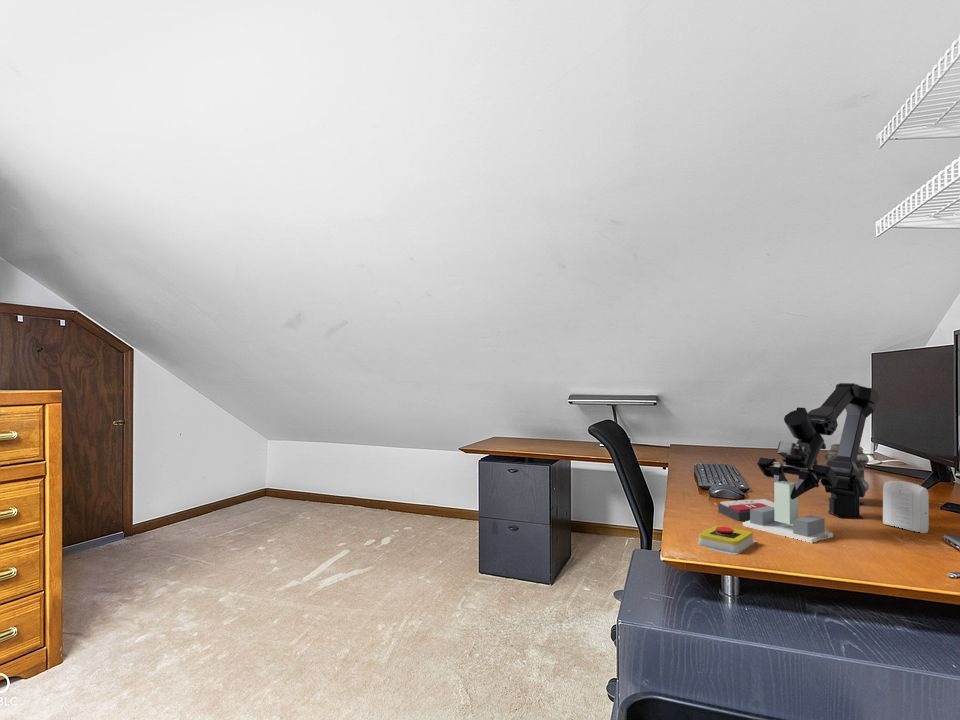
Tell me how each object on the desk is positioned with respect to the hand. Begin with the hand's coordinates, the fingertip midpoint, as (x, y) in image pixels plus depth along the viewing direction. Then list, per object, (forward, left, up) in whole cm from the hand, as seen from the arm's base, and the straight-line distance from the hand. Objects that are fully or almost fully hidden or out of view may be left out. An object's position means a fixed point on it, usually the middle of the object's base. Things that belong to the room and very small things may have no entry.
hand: (783, 496), depth 146 cm
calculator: (+2, -16, -10) cm, 19 cm away
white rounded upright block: (-34, -8, -9) cm, 36 cm away
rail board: (-1, -1, -9) cm, 9 cm away
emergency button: (+18, +13, -10) cm, 24 cm away
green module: (-1, -1, -7) cm, 7 cm away
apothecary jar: (-35, -39, -9) cm, 53 cm away
